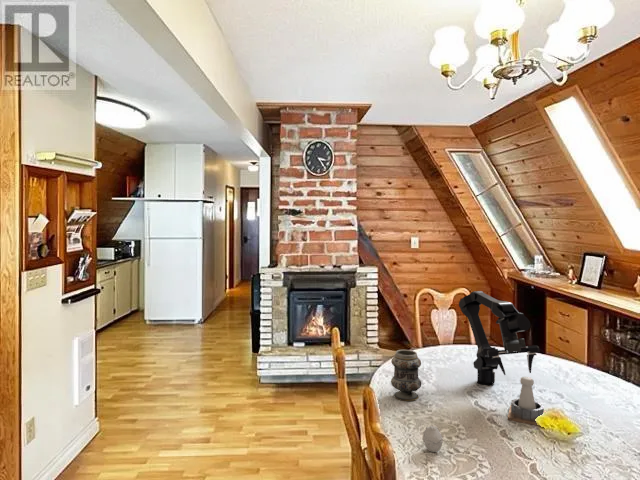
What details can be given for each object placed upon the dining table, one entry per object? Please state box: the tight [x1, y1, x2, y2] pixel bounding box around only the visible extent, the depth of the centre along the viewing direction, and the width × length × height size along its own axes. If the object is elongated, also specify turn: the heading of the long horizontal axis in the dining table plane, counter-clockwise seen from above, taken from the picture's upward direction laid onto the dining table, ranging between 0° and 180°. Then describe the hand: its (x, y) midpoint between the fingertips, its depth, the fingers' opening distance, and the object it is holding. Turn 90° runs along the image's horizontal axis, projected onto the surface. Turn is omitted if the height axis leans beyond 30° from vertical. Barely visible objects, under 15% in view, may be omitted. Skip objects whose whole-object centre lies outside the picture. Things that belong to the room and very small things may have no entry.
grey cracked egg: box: [422, 425, 444, 453], centre depth 131 cm, size 6×7×7 cm
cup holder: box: [507, 398, 547, 427], centre depth 153 cm, size 12×12×4 cm
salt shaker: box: [518, 376, 536, 409], centre depth 154 cm, size 6×6×13 cm
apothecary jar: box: [390, 349, 422, 402], centre depth 173 cm, size 12×12×18 cm
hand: (517, 374), depth 167 cm, fingers open, 9 cm apart
